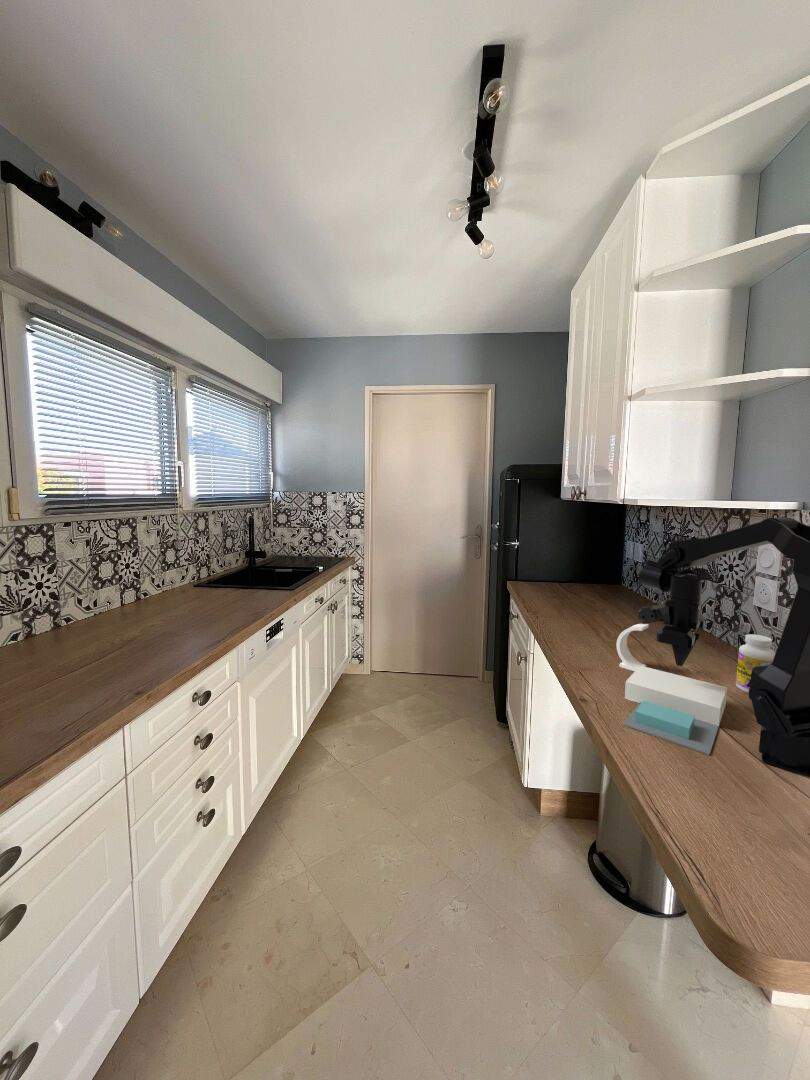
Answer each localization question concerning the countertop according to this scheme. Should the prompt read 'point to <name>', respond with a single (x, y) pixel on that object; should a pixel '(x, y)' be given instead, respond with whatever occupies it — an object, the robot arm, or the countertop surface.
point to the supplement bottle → (752, 658)
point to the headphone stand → (622, 648)
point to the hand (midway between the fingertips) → (679, 665)
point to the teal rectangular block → (665, 719)
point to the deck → (677, 693)
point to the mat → (698, 739)
